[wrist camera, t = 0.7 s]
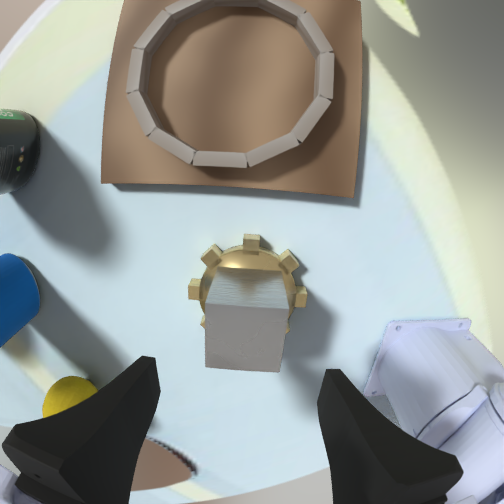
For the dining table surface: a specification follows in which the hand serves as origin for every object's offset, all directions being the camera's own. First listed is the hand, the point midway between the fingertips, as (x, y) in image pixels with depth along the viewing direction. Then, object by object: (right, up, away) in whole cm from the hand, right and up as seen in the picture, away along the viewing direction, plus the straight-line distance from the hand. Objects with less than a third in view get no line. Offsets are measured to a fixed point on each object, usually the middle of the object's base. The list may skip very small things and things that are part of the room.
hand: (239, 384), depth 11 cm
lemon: (-16, -7, +13) cm, 21 cm away
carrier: (-1, +16, +5) cm, 17 cm away
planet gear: (0, +3, +9) cm, 9 cm away
